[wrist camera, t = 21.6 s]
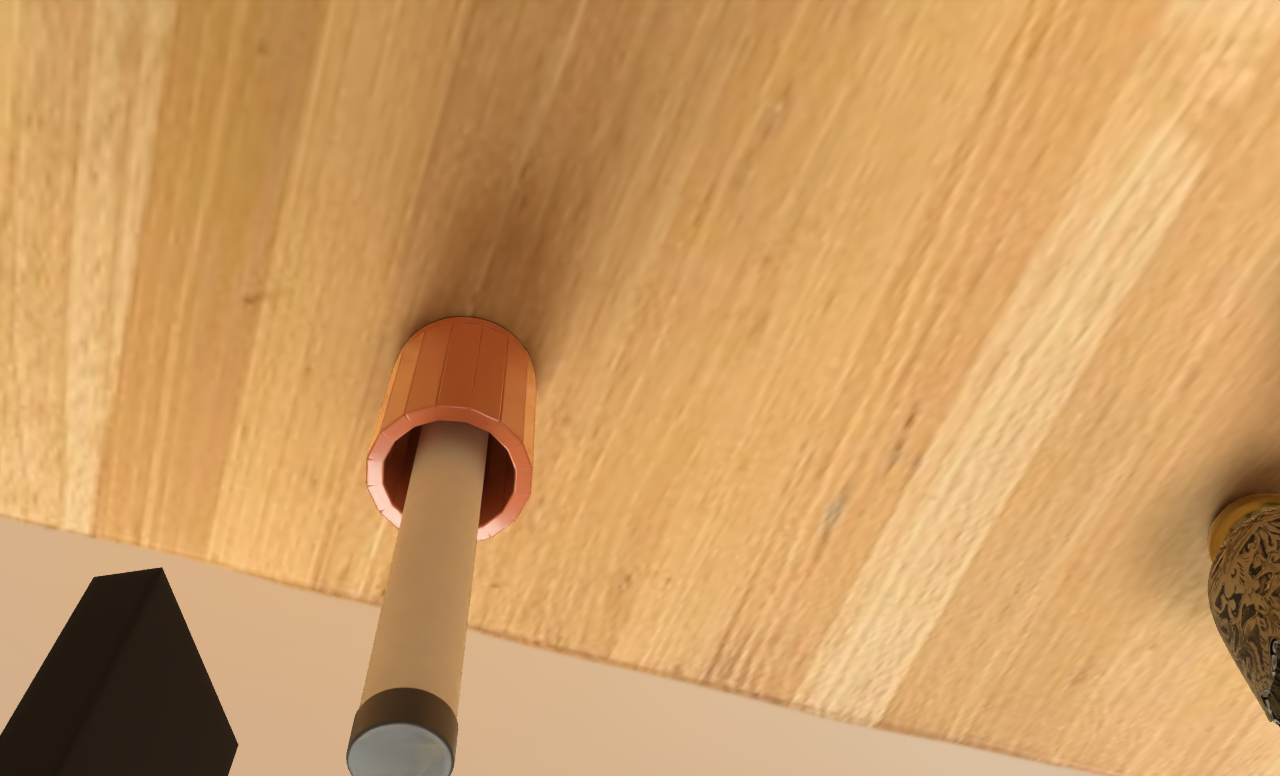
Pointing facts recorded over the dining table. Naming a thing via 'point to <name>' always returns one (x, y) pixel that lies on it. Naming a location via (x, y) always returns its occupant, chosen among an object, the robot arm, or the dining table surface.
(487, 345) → the pen pot
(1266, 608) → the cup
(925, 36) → the dining table surface
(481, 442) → the marker
